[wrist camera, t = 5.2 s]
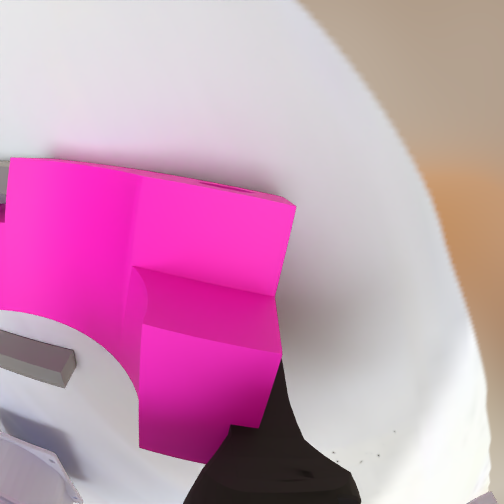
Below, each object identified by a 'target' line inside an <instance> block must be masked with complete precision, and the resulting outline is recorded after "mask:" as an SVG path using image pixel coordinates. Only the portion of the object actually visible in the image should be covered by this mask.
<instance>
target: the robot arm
mask: <svg viewBox="0 0 504 504" xmlns="http://www.w3.org/2000/svg"><path fill="white" fill-rule="evenodd" d="M73 502H75V503H79V504H83V499H82V498H81V496H80V495H79V493H78V491H77V490H76V488H75V487H74V485H73V483H72V482H71V480H70V478H69V477H68V475H67V473H66V471H65V470H64V468H63V466H62V464H61V462H60V461H59V459H58V457H57V455H56V454H55V453H53V452H51V451H49V450H46V449H43V448H41V447H38V446H35V445H33V444H30V443H28V442H25V441H23V440H20V439H18V438H15V437H13V436H11V435H8V434H6V433H4V432H2V431H0V504H73ZM183 504H361V498H360V495H359V491H358V488H357V486H356V483H355V481H354V479H353V477H352V475H351V472H349V471H347V470H346V469H344V468H343V467H341V466H339V465H338V464H336V463H335V462H333V461H332V460H330V459H328V458H327V457H326V456H324V455H323V454H321V453H320V452H319V451H318V450H316V449H315V448H314V447H313V446H311V445H310V444H309V443H308V442H307V441H306V440H305V439H304V438H303V436H302V434H301V431H300V429H299V427H298V424H297V422H296V419H295V416H294V414H293V411H292V408H291V405H290V402H289V398H288V394H287V387H286V381H285V375H284V369H283V363H282V358H281V361H280V364H279V367H278V370H277V374H276V377H275V380H274V383H273V386H272V389H271V393H270V396H269V399H268V402H267V405H266V408H265V411H264V414H263V417H262V420H261V423H260V426H259V428H252V427H245V426H238V425H232V424H230V428H229V432H228V435H227V436H226V438H225V439H224V441H223V442H222V444H221V445H220V447H219V448H218V450H217V451H216V453H215V454H214V455H213V456H212V458H211V459H210V460H209V461H208V463H207V464H206V465H205V466H204V468H203V469H202V471H201V472H200V474H199V476H198V478H197V479H196V481H195V483H194V484H193V486H192V488H191V489H190V491H189V493H188V495H187V497H186V498H185V500H184V502H183ZM467 504H498V503H497V501H496V499H495V497H494V495H493V493H492V492H491V491H490V492H487V493H485V494H483V495H481V496H479V497H477V498H475V499H473V500H472V501H470V502H469V503H467Z"/></svg>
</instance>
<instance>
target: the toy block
mask: <svg viewBox="0 0 504 504" xmlns="http://www.w3.org/2000/svg"><path fill="white" fill-rule="evenodd" d="M295 210H296V206H295V205H294V204H292V203H291V202H289V201H288V200H286V199H285V198H284V197H281V196H276V195H272V194H267V193H263V192H258V191H253V190H248V189H243V188H239V187H234V186H229V185H224V184H218V183H213V182H208V181H203V180H197V179H192V178H186V177H181V176H175V175H169V174H163V173H157V172H151V171H145V170H138V169H132V168H125V167H118V166H110V165H103V164H95V163H87V162H79V161H70V160H61V159H48V158H10V165H9V173H8V183H7V193H6V204H0V310H10V311H17V312H24V313H29V314H34V315H38V316H42V317H45V318H49V319H52V320H55V321H58V322H60V323H63V324H65V325H68V326H70V327H72V328H74V329H76V330H78V331H80V332H82V333H84V334H86V335H87V336H89V337H90V338H92V339H93V340H95V341H96V342H98V343H99V344H100V345H102V346H103V347H104V348H105V349H106V350H107V351H109V352H110V353H111V354H112V355H113V356H114V357H115V358H116V359H117V361H118V362H119V363H120V364H121V365H122V367H123V368H124V369H125V371H126V372H127V374H128V376H129V377H130V379H131V381H132V383H133V385H134V387H135V390H136V392H137V395H138V399H139V448H142V449H146V450H149V451H153V452H156V453H160V454H164V455H168V456H172V457H176V458H180V459H184V460H189V461H193V462H198V463H203V464H207V463H208V461H209V460H210V459H211V458H212V456H213V455H214V454H215V453H216V451H217V450H218V448H219V447H220V445H221V444H222V442H223V441H224V439H225V438H226V436H227V435H228V432H229V428H230V424H232V425H238V426H245V427H252V428H259V426H260V423H261V420H262V417H263V414H264V411H265V408H266V405H267V402H268V399H269V396H270V393H271V389H272V386H273V383H274V380H275V377H276V374H277V370H278V367H279V364H280V361H281V357H282V346H281V339H280V331H279V324H278V317H277V309H276V302H275V294H276V290H277V286H278V282H279V278H280V274H281V270H282V266H283V261H284V257H285V253H286V249H287V245H288V241H289V236H290V232H291V228H292V223H293V219H294V215H295Z"/></svg>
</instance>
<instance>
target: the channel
mask: <svg viewBox="0 0 504 504" xmlns="http://www.w3.org/2000/svg"><path fill="white" fill-rule="evenodd" d="M9 165H10V161H0V194H2V195H6V193H7V183H8V173H9ZM0 367H1V368H4V369H6V370H9V371H12V372H15V373H17V374H20V375H23V376H26V377H29V378H32V379H35V380H38V381H42V382H45V383H48V384H51V385H55V386H58V387H62V388H65V387H66V385H67V383H68V381H69V379H70V377H71V375H72V373H73V371H74V369H75V367H76V362H75V357H74V352H73V350H69V349H65V348H61V347H57V346H53V345H49V344H46V343H42V342H38V341H35V340H31V339H28V338H24V337H21V336H18V335H14V334H11V333H8V332H5V331H2V330H0Z"/></svg>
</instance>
